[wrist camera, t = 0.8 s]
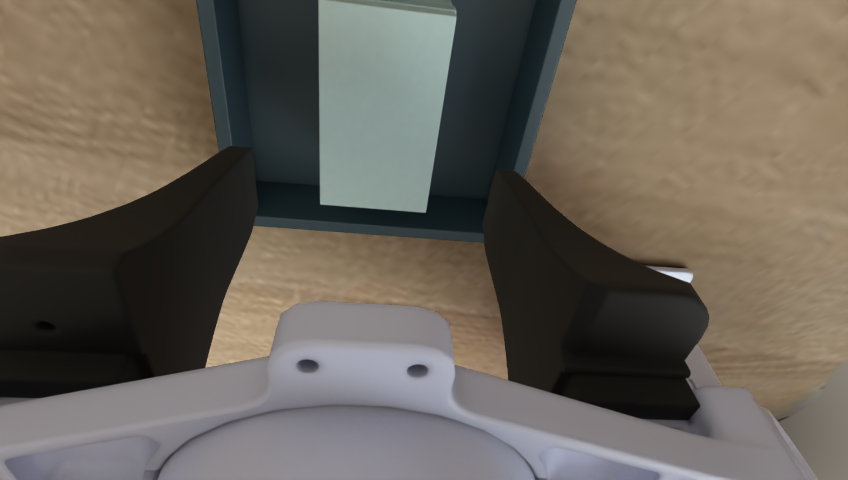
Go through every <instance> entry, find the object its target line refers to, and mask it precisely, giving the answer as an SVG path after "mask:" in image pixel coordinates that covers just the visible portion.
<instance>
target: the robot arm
mask: <svg viewBox="0 0 848 480" xmlns="http://www.w3.org/2000/svg"><path fill="white" fill-rule="evenodd" d="M257 209H258V199H257V190H256V180H255V171H254V161H253V152H252V148H250V147H239V146H229V147H227V148H225V149H224V150H222V151H220V152H219V153H217V154H216V155H214V156H213V157H211V158H210V159H208V160H207V161H205V162H204V163H202V164H201V165H199V166H198V167H196V168H194V169H193V170H191V171H190V172H188V173H187V174H185V175H183V176H181V177H180V178H178V179H176V180H174V181H173V182H171V183H169V184H167V185H166V186H164V187H162V188H160V189H158V190H157V191H155V192H153V193H150V194H148V195H146V196H144V197H142V198H140V199H137V200H135V201H133V202H131V203H128V204H126V205H123V206H120V207H117V208H115V209H112V210H109V211H106V212H103V213H100V214H98V215H95V216H92V217H88V218H85V219H81V220H78V221H75V222H71V223H67V224H63V225H59V226H55V227H50V228H46V229H41V230H36V231H31V232H25V233H20V234H15V235H10V236H3V237H0V480H818V479H817V478H816V476H815V475H814V473H813V472H812V470H811V469H810V467H809V466H808V464H807V463H806V461H805V460H804V458H803V457H802V455H801V454H800V452H799V451H798V450H797V448H796V447H795V445H794V444H793V442H792V441H791V439H790V438H789V437H788V435H787V434H786V432H785V431H784V430H783V428H782V427H781V426H780V424H779V423H778V421H777V420H776V419H775V417H774V416H773V415H772V414H771V412H770V411H769V410H768V409H767V408H764V407H761V406H759V405H758V404H757V402H756V401H755V399H754V397H753V396H752V394H751V393H750V391H749V390H748V389H747V388H743V387H723V386H722V384H721V383H720V381H719V379H718V378H717V376H716V374H715V373H714V371H713V369H712V368H711V366H710V364H709V363H708V361H707V359H706V358H705V356H704V354H703V352H702V351H701V349H700V347H699V346H698V344H697V343H698V342H699V340H700V339H701V338H702V336H703V334H704V332H705V330H706V329H707V327H708V322H709V314H708V311H707V308H706V306H705V305H704V303H703V302H702V300H701V299H700V297H699V296H698V294H697V293H696V291H695V290H694V288H693V287H692V285H691V284H690V282H691V280H692V278H693V273H692V272H691V271H690V270H689V269H685V268H670V267H656V266H645V265H642V264H640V263H638V262H636V261H634V260H632V259H630V258H628V257H625V256H624V255H622V254H620V253H618V252H616V251H614V250H613V249H611V248H609V247H607V246H606V245H604V244H602V243H601V242H599V241H597V240H596V239H594V238H593V237H591V236H590V235H588V234H587V233H586V232H584V231H583V230H581V229H580V228H578V227H577V226H576V225H574V224H573V223H572V222H571V221H569V220H568V219H567V218H566V217H565V216H563V215H562V214H561V213H560V212H559V211H557V210H556V209H555V208H554V207H553V206H552V205H551V204H550V203H549V202H548V201H546V200H545V199H544V198H543V197H542V196H541V195H540V194H539V193H538V192H537V191H536V190H535V189H534V188H533V187H532V186H531V185H530V184H529V183H528V182H527V181H526V180H525V179H524V178H523V177H522V176H521V175H519V174H518V173H517V172H516V171H509V170H497V169H496V171H495V175H494V179H493V183H492V187H491V191H490V195H489V199H488V203H487V207H486V211H485V215H484V219H483V235H484V244H485V252H486V256H487V260H488V264H489V268H490V272H491V276H492V280H493V284H494V288H495V292H496V295H497V299H498V303H499V308H500V313H501V318H502V325H503V333H504V341H505V350H506V359H507V369H508V380H505V379H502V378H498V377H495V376H491V375H488V374H485V373H481V372H478V371H474V370H471V369H467V368H464V367H461V366H457V365H454V357H453V347H452V338H451V331H450V325H449V322H448V321H446V320H445V319H444V318H443V317H442V316H441V315H440V314H438V313H437V312H436V311H432V310H428V309H424V308H420V307H416V306H404V305H386V304H369V303H351V302H334V301H314V302H306V303H298V304H296V305H294V306H292V307H291V308H289V309H288V310H286V311H285V312H283V313H282V314H281V316H280V319H279V322H278V325H277V328H276V332H275V336H274V340H273V344H272V348H271V352H270V356H268V357H262V358H257V359H251V360H246V361H240V362H235V363H229V364H224V365H219V366H213V367H208V368H205V366H206V362H207V358H208V354H209V350H210V346H211V342H212V339H213V335H214V331H215V327H216V324H217V320H218V317H219V313H220V310H221V307H222V303H223V300H224V297H225V295H226V292H227V289H228V287H229V285H230V282H231V280H232V278H233V275H234V273H235V271H236V268H237V266H238V264H239V261H240V259H241V257H242V255H243V252H244V250H245V247H246V245H247V243H248V240H249V238H250V235H251V233H252V229H253V225H254V222H255V217H256V213H257Z"/></svg>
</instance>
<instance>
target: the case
mask: <svg viewBox="0 0 848 480" xmlns="http://www.w3.org/2000/svg"><path fill="white" fill-rule="evenodd" d="M456 19H457V17H456V8H455V7H454V6H453V5H452V2H451V0H318V24H319V152H320V204H321V205H334V206H346V207H359V208H372V209H384V210H397V211H409V212H422V213H426V209H427V203H428V196H429V190H430V184H431V177H432V171H433V165H434V158H435V152H436V146H437V139H438V133H439V127H440V120H441V114H442V108H443V101H444V95H445V89H446V82H447V76H448V70H449V63H450V57H451V50H452V44H453V38H454V31H455V25H456Z"/></svg>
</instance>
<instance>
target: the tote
mask: <svg viewBox="0 0 848 480" xmlns="http://www.w3.org/2000/svg"><path fill="white" fill-rule="evenodd" d="M576 1H577V0H451V2H452V5H453V6H454V7H455V8H456V17H457V19H456V25H455V31H454V38H453V44H452V50H451V57H450V63H449V70H448V76H447V82H446V89H445V95H444V101H443V108H442V114H441V120H440V127H439V133H438V139H437V146H436V152H435V158H434V165H433V171H432V177H431V184H430V190H429V196H428V203H427V209H426V213H422V212H409V211H397V210H384V209H372V208H359V207H346V206H334V205H321V204H320V152H319V24H318V0H196V2H197V9H198V16H199V22H200V29H201V35H202V42H203V49H204V55H205V62H206V69H207V75H208V82H209V88H210V95H211V102H212V108H213V115H214V122H215V128H216V135H217V141H218V148H219V152H220V151H222V150H224V149H225V148H227V147H229V146H239V147H250V148H252V152H253V161H254V171H255V180H256V190H257V199H258V209H257V213H256V217H255V222H254V225H253V226H264V227H277V228H291V229H304V230H318V231H332V232H345V233H359V234H372V235H386V236H399V237H413V238H427V239H440V240H454V241H467V242H481V243H484V235H483V219H484V215H485V211H486V207H487V203H488V199H489V195H490V191H491V187H492V183H493V179H494V175H495V171H496V169H497V170H509V171H516V172H517V173H518V174H519V175H521V176H522V177H523V178H524V177H525V174H526V170H527V167H528V163H529V160H530V157H531V153H532V150H533V146H534V143H535V140H536V136H537V133H538V130H539V126H540V123H541V119H542V116H543V113H544V109H545V106H546V102H547V99H548V96H549V92H550V89H551V85H552V82H553V79H554V75H555V72H556V69H557V65H558V62H559V58H560V55H561V52H562V48H563V45H564V41H565V38H566V35H567V31H568V28H569V24H570V21H571V18H572V14H573V11H574V7H575V4H576Z"/></svg>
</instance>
